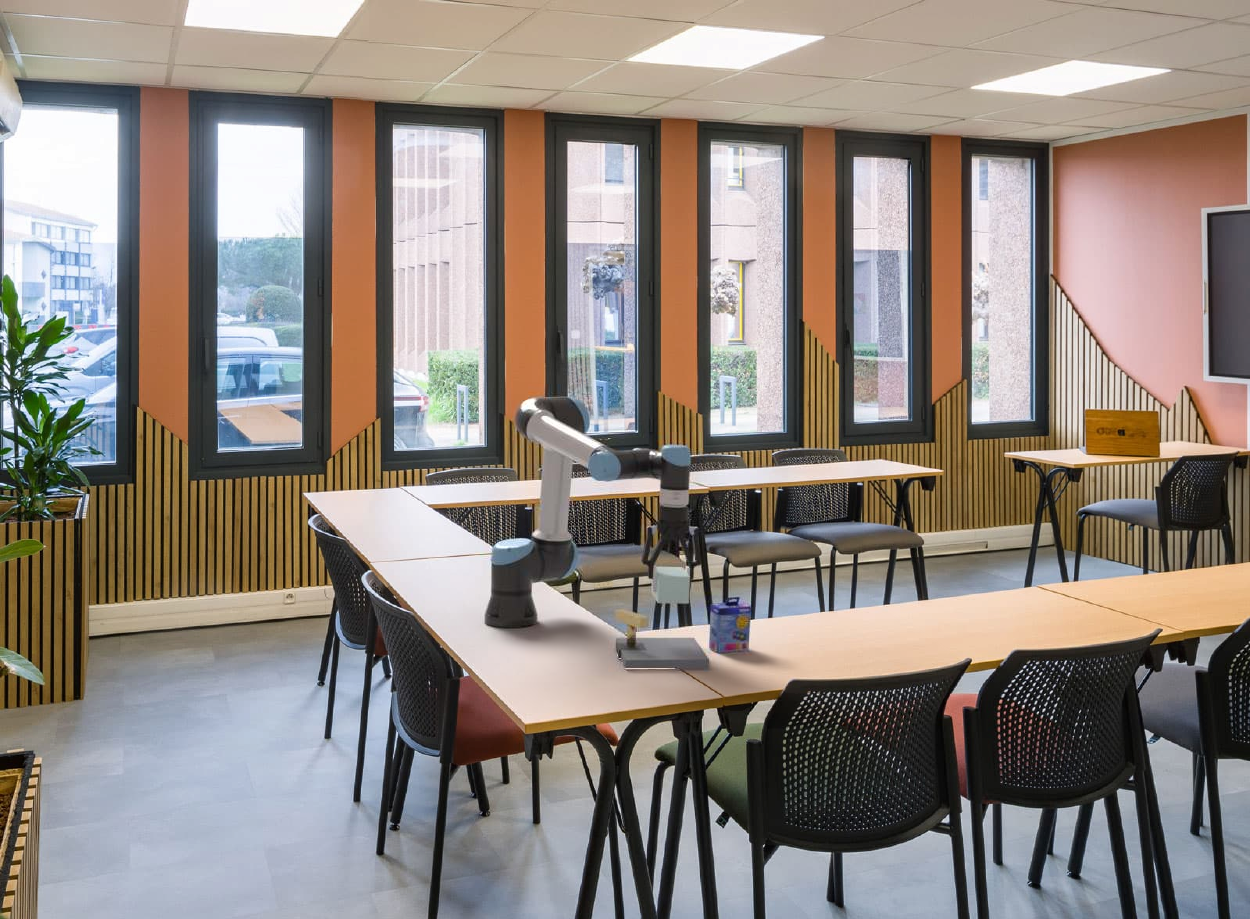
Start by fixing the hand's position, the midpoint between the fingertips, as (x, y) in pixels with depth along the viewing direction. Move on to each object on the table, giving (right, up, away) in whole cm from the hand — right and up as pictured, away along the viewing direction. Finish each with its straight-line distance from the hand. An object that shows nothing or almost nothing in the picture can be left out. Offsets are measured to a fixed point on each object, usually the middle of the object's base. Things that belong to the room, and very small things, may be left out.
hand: (670, 591), depth 303 cm
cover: (0, -2, 0) cm, 2 cm away
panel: (-3, -17, -5) cm, 17 cm away
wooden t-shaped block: (-10, -14, -4) cm, 17 cm away
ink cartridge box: (+16, -16, +6) cm, 23 cm away
